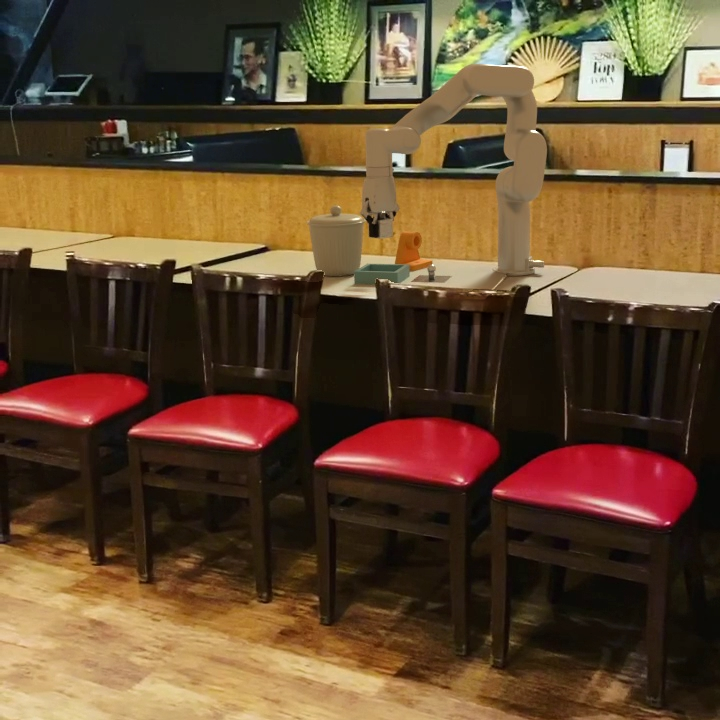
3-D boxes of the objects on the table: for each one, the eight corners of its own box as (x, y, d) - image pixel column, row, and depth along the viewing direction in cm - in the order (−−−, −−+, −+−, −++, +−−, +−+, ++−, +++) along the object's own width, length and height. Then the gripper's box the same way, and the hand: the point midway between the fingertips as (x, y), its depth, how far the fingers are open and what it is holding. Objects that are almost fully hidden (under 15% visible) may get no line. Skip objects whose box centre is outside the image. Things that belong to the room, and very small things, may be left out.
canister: (379, 273, 324) (377, 204, 318) (332, 281, 313) (330, 211, 307) (343, 266, 337) (340, 200, 332) (297, 274, 327) (294, 206, 321)
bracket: (414, 274, 321) (413, 235, 317) (394, 272, 325) (393, 233, 322) (433, 268, 329) (433, 230, 326) (414, 266, 333) (414, 229, 330)
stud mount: (452, 279, 310) (452, 262, 309) (444, 285, 301) (444, 268, 300) (419, 278, 313) (419, 261, 312) (410, 284, 304) (410, 267, 303)
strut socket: (381, 235, 308) (380, 207, 306) (392, 236, 305) (392, 208, 302) (368, 237, 305) (368, 209, 303) (380, 238, 301) (379, 210, 299)
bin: (409, 279, 312) (409, 264, 311) (397, 288, 300) (397, 272, 299) (367, 278, 316) (367, 263, 315) (354, 286, 304) (354, 271, 303)
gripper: (391, 169, 308) (392, 231, 313) (348, 174, 297) (350, 238, 302) (409, 171, 303) (410, 233, 307) (366, 175, 292) (368, 241, 296)
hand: (380, 235), depth 305 cm, fingers closed on strut socket, 5 cm apart
